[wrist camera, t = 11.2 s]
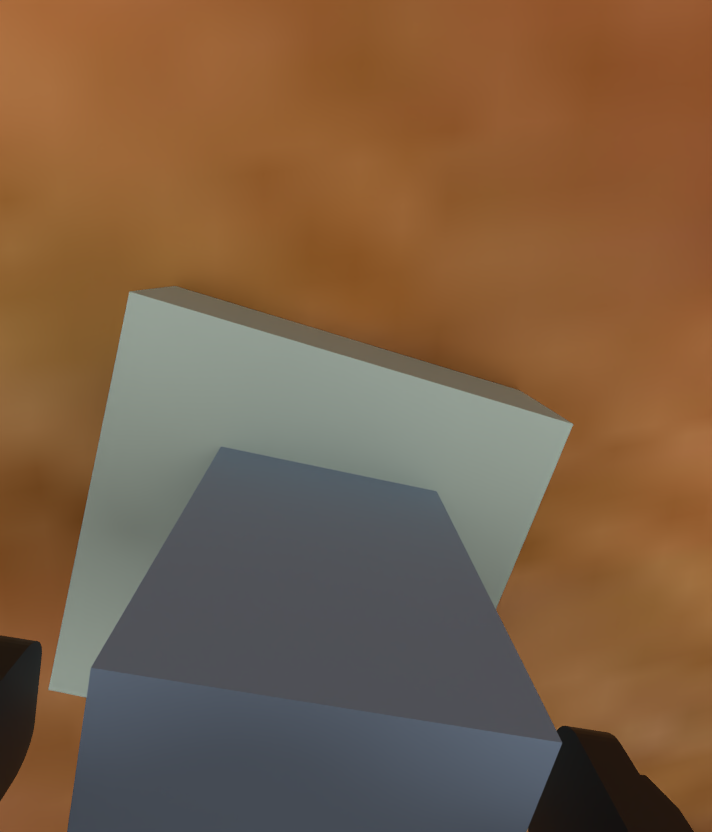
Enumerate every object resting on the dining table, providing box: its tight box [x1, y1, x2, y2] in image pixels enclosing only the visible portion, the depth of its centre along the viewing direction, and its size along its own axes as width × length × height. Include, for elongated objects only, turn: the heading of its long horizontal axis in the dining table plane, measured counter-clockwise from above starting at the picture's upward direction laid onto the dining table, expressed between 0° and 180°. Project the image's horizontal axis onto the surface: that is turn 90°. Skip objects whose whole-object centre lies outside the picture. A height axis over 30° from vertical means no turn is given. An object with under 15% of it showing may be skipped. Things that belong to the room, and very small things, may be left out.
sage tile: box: [48, 286, 573, 697], centre depth 15 cm, size 10×10×4 cm
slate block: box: [67, 447, 562, 832], centre depth 10 cm, size 5×5×7 cm
